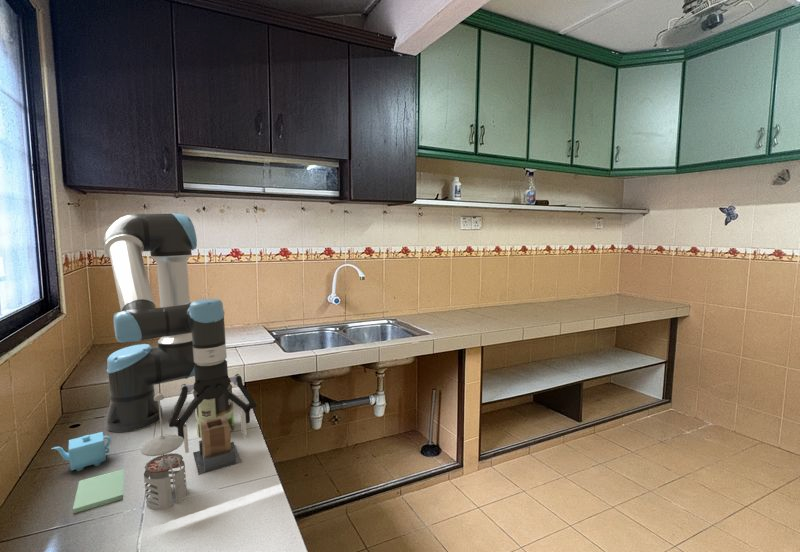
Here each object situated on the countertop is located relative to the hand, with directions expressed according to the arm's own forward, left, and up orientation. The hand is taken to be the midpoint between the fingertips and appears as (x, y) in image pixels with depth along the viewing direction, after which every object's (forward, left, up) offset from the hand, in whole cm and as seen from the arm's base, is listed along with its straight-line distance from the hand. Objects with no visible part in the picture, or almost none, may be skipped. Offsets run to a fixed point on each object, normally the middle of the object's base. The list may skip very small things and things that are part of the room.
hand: (216, 442), depth 106 cm
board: (-2, -24, -6) cm, 25 cm away
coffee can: (-16, +2, -6) cm, 17 cm away
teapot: (-18, -29, -6) cm, 35 cm away
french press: (+12, -12, -6) cm, 18 cm away
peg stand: (0, 0, -6) cm, 6 cm away
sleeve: (0, 0, -4) cm, 4 cm away
